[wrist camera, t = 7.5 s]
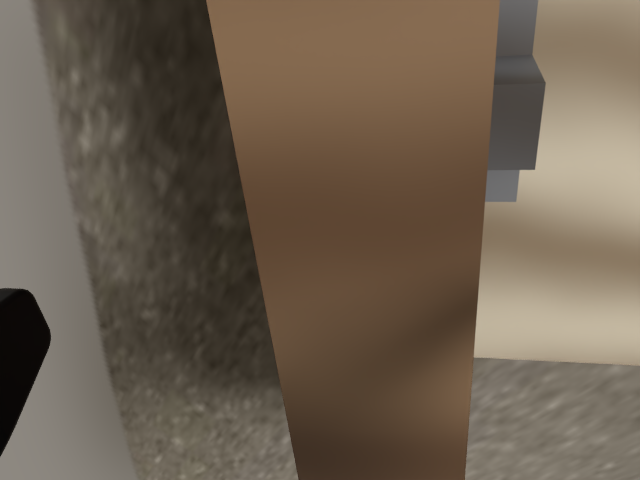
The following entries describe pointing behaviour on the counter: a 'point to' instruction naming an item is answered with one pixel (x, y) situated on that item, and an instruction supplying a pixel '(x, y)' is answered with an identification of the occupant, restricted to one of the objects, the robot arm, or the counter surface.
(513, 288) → the flat beige square board
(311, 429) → the walnut bar
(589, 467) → the counter surface
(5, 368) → the robot arm
